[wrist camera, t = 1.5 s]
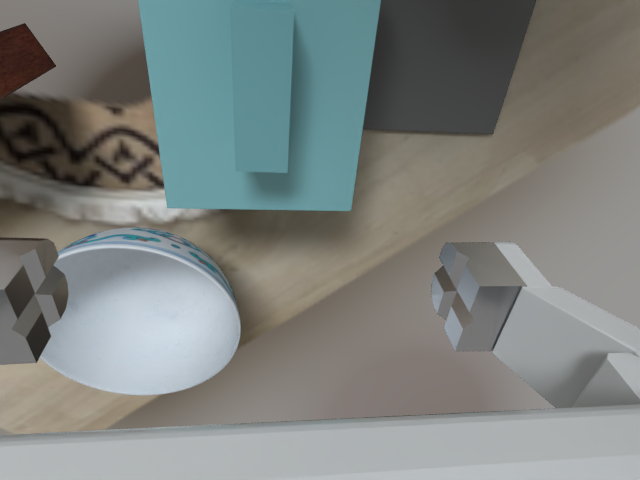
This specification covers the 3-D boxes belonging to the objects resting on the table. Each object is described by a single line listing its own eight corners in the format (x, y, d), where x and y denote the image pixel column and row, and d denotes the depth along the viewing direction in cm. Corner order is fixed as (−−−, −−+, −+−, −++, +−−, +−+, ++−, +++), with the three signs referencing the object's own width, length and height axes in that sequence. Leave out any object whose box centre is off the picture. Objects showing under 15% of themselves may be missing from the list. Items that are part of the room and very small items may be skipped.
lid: (137, -119, 18) (94, -140, 14) (380, -92, 20) (415, -102, 15) (175, 186, 27) (156, 237, 22) (344, 190, 28) (359, 238, 24)
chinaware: (279, 270, 39) (282, 334, 32) (164, 347, 43) (146, 418, 36) (146, 149, 31) (116, 202, 25) (21, 258, 35) (-32, 327, 29)
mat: (376, -75, 25) (378, -75, 24) (550, -56, 26) (554, -56, 26) (351, 126, 31) (352, 128, 31) (490, 132, 33) (492, 134, 33)
